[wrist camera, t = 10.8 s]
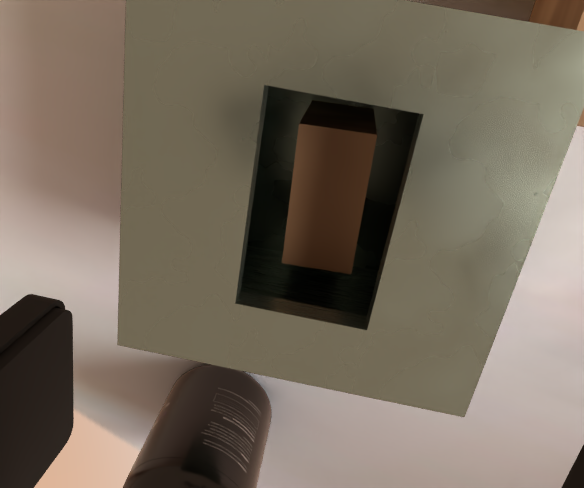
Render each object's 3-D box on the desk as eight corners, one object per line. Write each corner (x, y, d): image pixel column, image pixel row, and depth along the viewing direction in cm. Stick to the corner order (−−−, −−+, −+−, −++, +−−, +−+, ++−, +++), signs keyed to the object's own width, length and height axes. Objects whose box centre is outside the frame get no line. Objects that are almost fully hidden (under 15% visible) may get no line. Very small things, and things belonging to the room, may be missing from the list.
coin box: (515, 27, 24) (611, 36, 15) (432, 293, 30) (464, 417, 20) (214, -25, 24) (127, -48, 15) (190, 245, 30) (117, 344, 21)
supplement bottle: (155, 372, 34) (58, 539, 23) (251, 350, 33) (196, 519, 22) (196, 450, 37) (126, 636, 26) (287, 433, 35) (254, 624, 24)
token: (373, 108, 25) (376, 134, 20) (353, 223, 28) (351, 274, 22) (312, 100, 26) (298, 123, 20) (297, 214, 28) (281, 263, 23)
